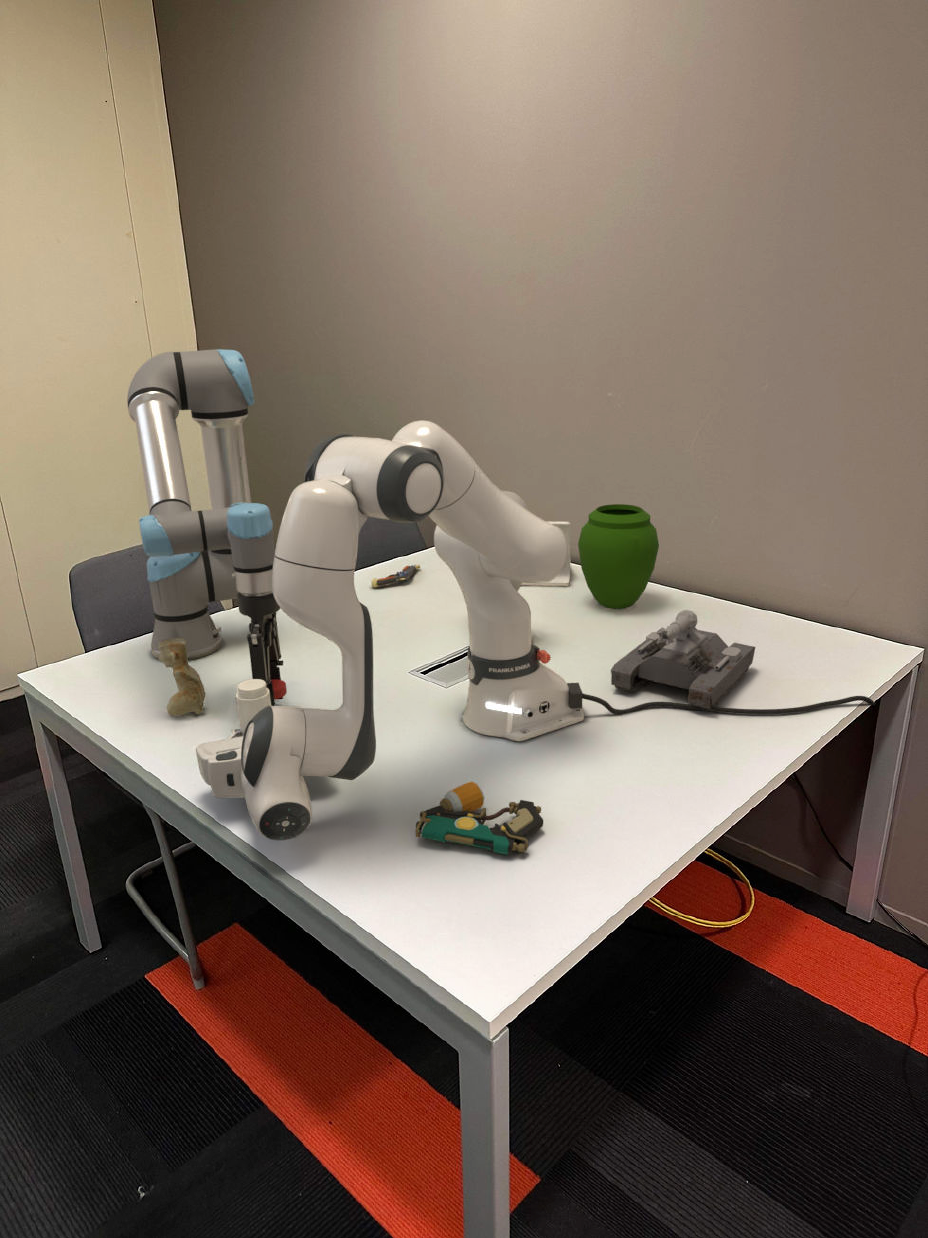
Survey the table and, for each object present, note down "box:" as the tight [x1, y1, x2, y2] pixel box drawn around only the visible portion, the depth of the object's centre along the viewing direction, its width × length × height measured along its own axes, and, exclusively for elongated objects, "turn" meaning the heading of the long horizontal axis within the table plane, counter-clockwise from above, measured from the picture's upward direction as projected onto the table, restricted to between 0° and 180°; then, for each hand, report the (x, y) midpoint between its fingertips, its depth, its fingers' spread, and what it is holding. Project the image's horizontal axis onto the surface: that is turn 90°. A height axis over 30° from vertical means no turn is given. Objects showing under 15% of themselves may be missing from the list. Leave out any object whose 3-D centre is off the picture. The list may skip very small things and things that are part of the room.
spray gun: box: [415, 781, 544, 856], centre depth 124 cm, size 4×17×15 cm
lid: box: [270, 679, 288, 701], centre depth 161 cm, size 6×6×2 cm
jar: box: [235, 678, 271, 736], centre depth 142 cm, size 5×5×15 cm
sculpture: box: [158, 638, 207, 717], centre depth 162 cm, size 6×7×15 cm
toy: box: [610, 609, 756, 710], centre depth 169 cm, size 25×20×15 cm
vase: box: [577, 503, 660, 610], centre depth 210 cm, size 20×20×24 cm
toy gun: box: [370, 564, 421, 588], centre depth 239 cm, size 3×19×10 cm
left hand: (272, 706), depth 162 cm, fingers closed on lid, 6 cm apart
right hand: (256, 729), depth 143 cm, fingers closed on jar, 5 cm apart
